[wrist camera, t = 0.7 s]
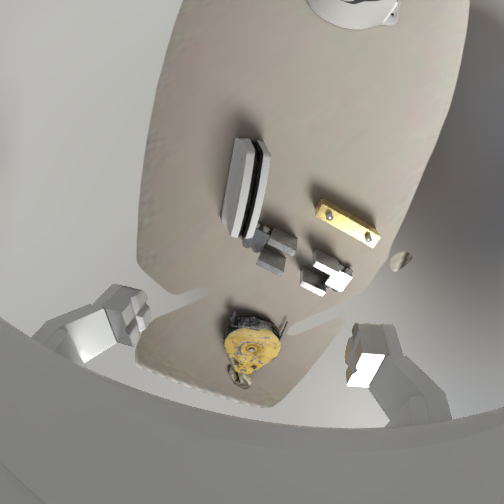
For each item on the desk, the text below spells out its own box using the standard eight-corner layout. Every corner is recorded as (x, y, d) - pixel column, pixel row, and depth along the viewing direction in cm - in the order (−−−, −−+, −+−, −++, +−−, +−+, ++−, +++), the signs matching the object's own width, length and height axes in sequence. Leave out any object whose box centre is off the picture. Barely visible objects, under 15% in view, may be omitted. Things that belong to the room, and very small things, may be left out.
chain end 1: (254, 217, 50) (249, 227, 46) (297, 238, 51) (296, 251, 46) (242, 242, 53) (235, 254, 49) (283, 262, 54) (280, 276, 49)
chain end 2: (315, 248, 51) (316, 261, 47) (353, 268, 51) (357, 282, 47) (300, 271, 54) (299, 285, 50) (337, 289, 54) (339, 304, 50)
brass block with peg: (321, 197, 46) (322, 205, 42) (375, 228, 47) (381, 239, 43) (314, 208, 48) (315, 217, 43) (368, 238, 48) (373, 250, 44)
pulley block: (210, 388, 70) (229, 319, 55) (213, 372, 75) (231, 301, 60) (258, 396, 72) (293, 331, 57) (259, 380, 77) (291, 313, 62)
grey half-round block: (235, 135, 44) (242, 144, 35) (262, 139, 45) (275, 150, 37) (220, 220, 52) (223, 247, 44) (244, 223, 53) (252, 250, 45)
